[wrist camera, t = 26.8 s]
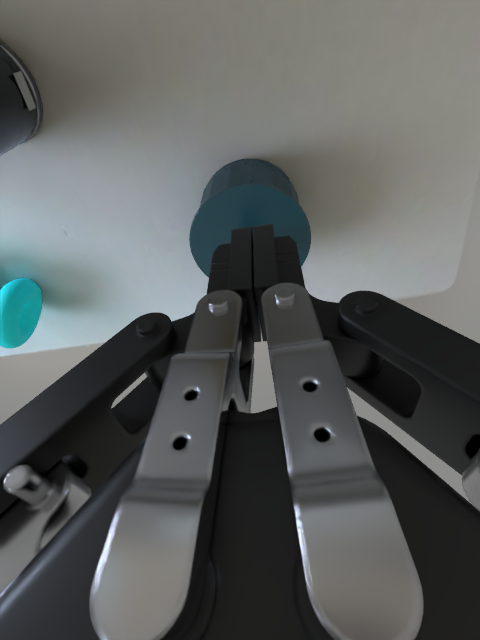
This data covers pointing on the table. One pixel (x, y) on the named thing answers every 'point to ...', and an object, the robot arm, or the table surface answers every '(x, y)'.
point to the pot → (249, 177)
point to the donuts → (19, 311)
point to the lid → (246, 219)
